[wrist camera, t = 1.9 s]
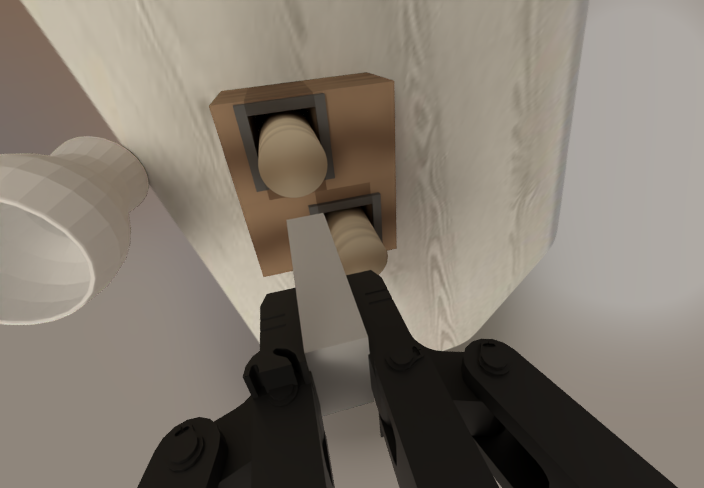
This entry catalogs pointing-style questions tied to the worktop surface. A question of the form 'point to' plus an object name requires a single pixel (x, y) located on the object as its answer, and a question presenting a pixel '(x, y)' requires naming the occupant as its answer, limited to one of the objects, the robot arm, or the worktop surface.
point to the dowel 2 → (356, 241)
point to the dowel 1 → (290, 155)
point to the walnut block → (338, 144)
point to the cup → (64, 226)
